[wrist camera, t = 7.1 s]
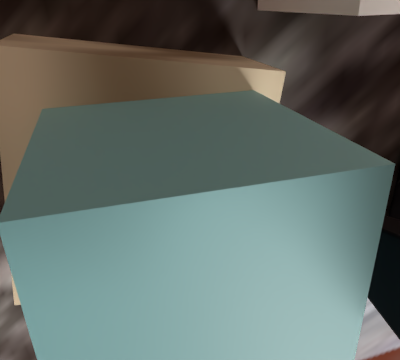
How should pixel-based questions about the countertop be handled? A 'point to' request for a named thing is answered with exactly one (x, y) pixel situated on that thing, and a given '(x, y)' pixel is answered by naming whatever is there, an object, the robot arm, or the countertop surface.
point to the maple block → (106, 82)
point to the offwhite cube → (333, 6)
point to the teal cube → (193, 231)
